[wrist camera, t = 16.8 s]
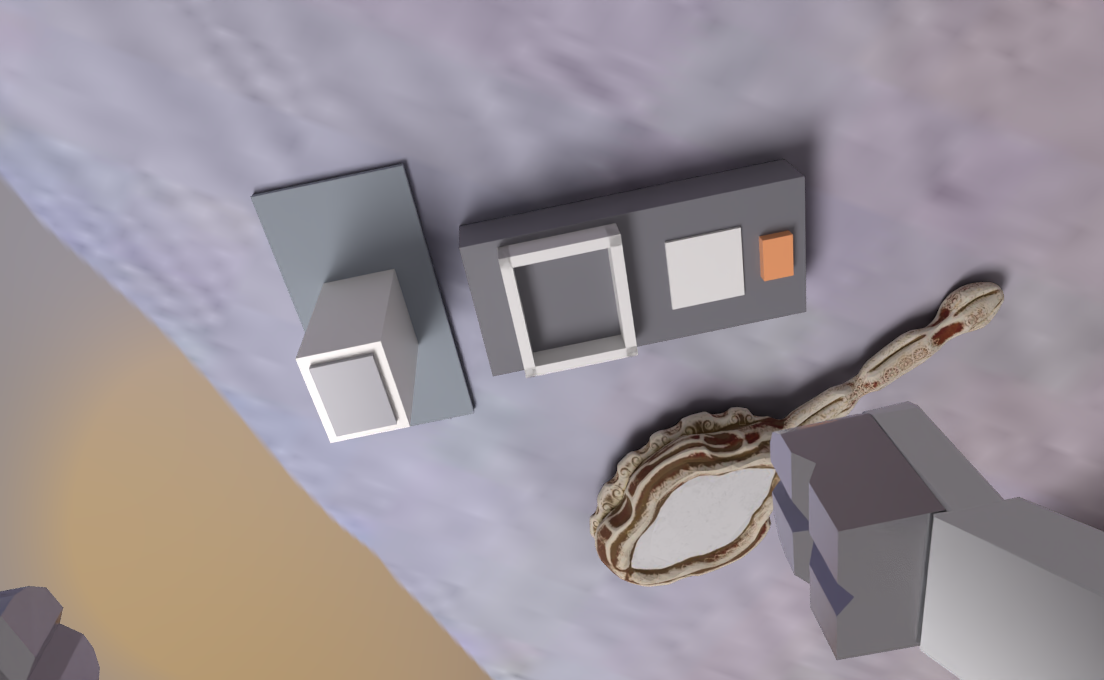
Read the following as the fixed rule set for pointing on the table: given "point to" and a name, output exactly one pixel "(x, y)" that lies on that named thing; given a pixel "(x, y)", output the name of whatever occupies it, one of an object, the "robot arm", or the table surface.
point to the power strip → (637, 268)
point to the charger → (360, 356)
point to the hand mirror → (739, 464)
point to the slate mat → (368, 266)
